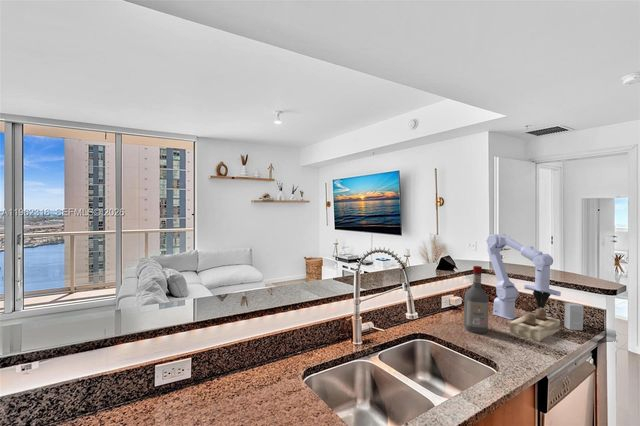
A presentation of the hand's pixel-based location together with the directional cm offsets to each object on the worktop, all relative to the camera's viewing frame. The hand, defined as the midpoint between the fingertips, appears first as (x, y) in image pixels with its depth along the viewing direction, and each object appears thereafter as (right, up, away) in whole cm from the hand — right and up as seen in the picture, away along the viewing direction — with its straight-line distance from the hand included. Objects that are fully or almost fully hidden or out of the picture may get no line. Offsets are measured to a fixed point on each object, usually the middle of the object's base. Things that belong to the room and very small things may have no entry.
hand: (541, 307), depth 151 cm
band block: (-5, -10, -3) cm, 12 cm away
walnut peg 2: (0, -6, 0) cm, 6 cm away
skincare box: (+16, -11, +1) cm, 20 cm away
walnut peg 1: (-10, -6, -7) cm, 14 cm away
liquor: (-33, -10, -2) cm, 34 cm away
